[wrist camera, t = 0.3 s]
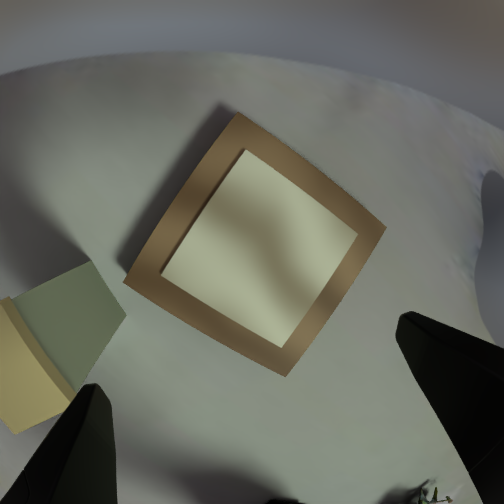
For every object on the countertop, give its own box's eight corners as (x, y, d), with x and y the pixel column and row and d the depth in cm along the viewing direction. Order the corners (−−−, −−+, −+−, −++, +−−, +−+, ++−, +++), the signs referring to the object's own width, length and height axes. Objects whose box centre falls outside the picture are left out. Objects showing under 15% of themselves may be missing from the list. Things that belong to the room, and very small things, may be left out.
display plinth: (279, 365, 24) (286, 379, 22) (129, 276, 22) (121, 283, 19) (373, 226, 24) (388, 227, 22) (234, 119, 21) (238, 110, 19)
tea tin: (129, 316, 22) (73, 406, 10) (82, 345, 22) (14, 434, 10) (91, 257, 21) (-1, 301, 9) (46, 291, 21) (-48, 348, 9)
